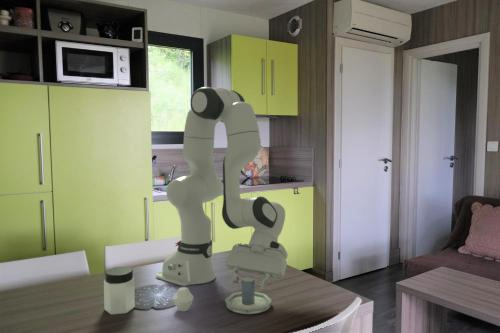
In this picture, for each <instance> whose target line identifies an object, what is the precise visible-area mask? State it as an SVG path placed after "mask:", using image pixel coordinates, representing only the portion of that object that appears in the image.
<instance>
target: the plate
mask: <svg viewBox="0 0 500 333" xmlns="http://www.w3.org/2000/svg"><path fill="white" fill-rule="evenodd" d="M224 302H225V305H226V308H227V309H228V310H229V311H230V312H231V311H232V312H234V313H237V314H242V315H254V314H261V313H264V312H266V311H267V310H269V309H270V308H271V305H272V303H273V300H272V299H271V298H270V297H269V296H268V295H267V294H265V293H261V292H257V291H255V301H254V304H252V305H245V304H242V291H240V292H234V293H231V294H230V295H229V296H227V298H225V299H224Z"/></svg>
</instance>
